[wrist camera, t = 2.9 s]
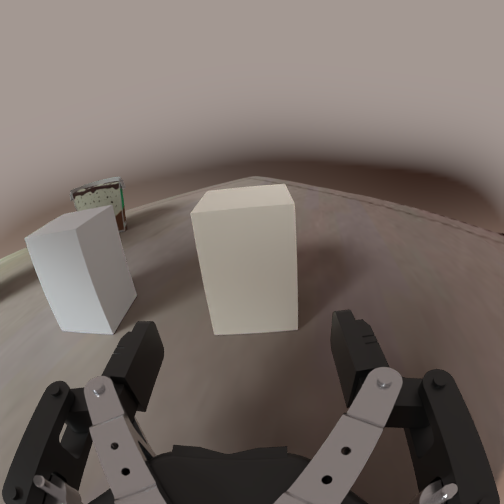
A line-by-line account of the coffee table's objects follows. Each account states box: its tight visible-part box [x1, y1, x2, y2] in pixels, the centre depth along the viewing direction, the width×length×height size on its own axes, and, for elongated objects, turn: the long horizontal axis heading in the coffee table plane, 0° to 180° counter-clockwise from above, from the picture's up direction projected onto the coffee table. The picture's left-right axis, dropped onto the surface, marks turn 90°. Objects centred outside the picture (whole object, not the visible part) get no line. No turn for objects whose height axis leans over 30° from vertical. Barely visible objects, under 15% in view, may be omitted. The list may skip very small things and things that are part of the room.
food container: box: [70, 177, 127, 232], centre depth 51 cm, size 12×6×10 cm, turn 94°
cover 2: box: [190, 184, 298, 335], centre depth 23 cm, size 7×7×10 cm
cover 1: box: [25, 205, 137, 334], centre depth 24 cm, size 7×7×10 cm
